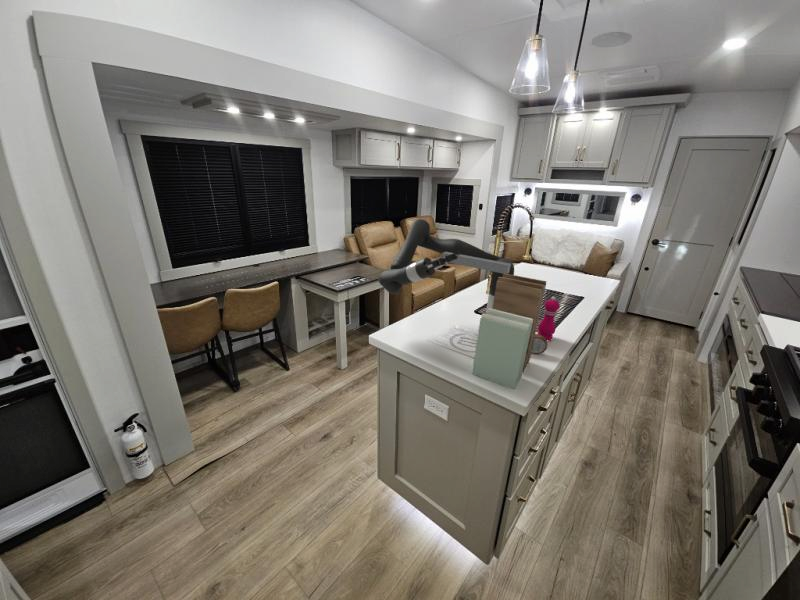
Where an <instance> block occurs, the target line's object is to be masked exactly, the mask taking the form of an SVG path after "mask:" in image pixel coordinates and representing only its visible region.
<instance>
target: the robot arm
mask: <svg viewBox="0 0 800 600" xmlns="http://www.w3.org/2000/svg"><path fill="white" fill-rule="evenodd" d="M430 232H431V226H430V223H429V222H428V221H427V220H425V219H424V218H423V219H422V218H418V219H416V220H414V221H413V222H412V223H411V225H410V228H409V231H408V233H407V236H406V238H405V241H404V242H403V244H402V246H401V248H400V250H399V251H398V253H397V255H396V256H395V258H394V259H393V261H392V263H391V265H390V269H386V270H384V271H383V272H381V273H380V274H379V276H378V283H379V284H380V286H382V287H383V288H384V289H385V291H386V292H388V293H389V294H391V295H396V294H397V293H399V292H400V291H401V289H402V287H403V286H406V285H410V284H413V283H416V282H420V281H423V280H425V279H428V278H430V277H433V276H434V275H435V273H436V270H438V269H441V268H442V267H443V266H448V264H449V262H450V261H452V260H455V259H457V256H456V254H461V255H466V256H472V257H477V258H482V259H488V260H493V261H499V262H504V263H510V264H511V266H510V271H509V273H508V274H510V275H515V264H514V263H513V262H512V261H511V260H510V259H508V258H505V257H502V256H499V255H496V254H492V253H489V252H487V251H484V250H483V249H480V248H479V247H477V246H475V245H473V244H470V243H468V242H467V241H463V240H461V239H459V238H445V239H444V238H439V237H435V236H432V235H430ZM418 247H421V248H423V249H424V248H425V249H427V250H430V251H434V252H435V253H438V254H440V255H442V253H444V252H450V253H453V254H451V255H448V256H445V257H443V258H442V256H439V257H435V258H433V259H431V258H430V257H428V256H427V257H423V258H421V259H419V260H417V261H415V262H412V261H413V258H414V255H415V253H416V251H417V249H418ZM447 261H448V262H447ZM489 272H490V273H491V275H490V284H489V289H488V291H489V292H488V298H487V304H486V309H485V310H486V311H485V314H486V313H487V311H488V308H491V309H492V308H493V302H494V296H495V290H496V284H497V281H498V277H503V273H498V272H493V271H489Z"/></svg>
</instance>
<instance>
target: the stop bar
mask: <svg viewBox="0 0 800 600" xmlns="http://www.w3.org/2000/svg"><path fill="white" fill-rule="evenodd" d="M451 254H453V253H450V252H444V253H442V254H441V257H442V258H443V257H445V256H448V255H451ZM456 256H457V259H455V260H452V261H450V262H448V261H447V262H448V264H455V265H460V266H464V267H469V268H473V269H479V270H483V271H489V272H490V271H493V272H498V273H503V274H508V273H509V271H510V266H511V264H510V263H504V262H499V261H493V260H488V259H482V258H477V257H472V256H466V255H461V254H456Z"/></svg>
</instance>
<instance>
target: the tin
mask: <svg viewBox="0 0 800 600" xmlns="http://www.w3.org/2000/svg"><path fill="white" fill-rule="evenodd" d="M547 348H548V341H547V340H546V339H545V337H543V336H542V335H539V334H538V333H535V337H534V342H533V346H532V351H531V354H532V355H542V354H543V353H545V351H547Z"/></svg>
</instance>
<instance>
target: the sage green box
mask: <svg viewBox="0 0 800 600" xmlns="http://www.w3.org/2000/svg"><path fill="white" fill-rule="evenodd" d="M532 323H533V319H531V318H527V317H523V316H519V315H515V314H511V313H507V312H503V311H499V310H495V309H491V308H488V311H487V313H486V312H485V313H482V314H481V317H480V320H479V326H478V334H477V337H476V338H477V339H476V345H475V354H474V359H473V367H472V371H471V374H472V375H473V376H476V377H480V378H482V379H483V380H488V381H491V382H493V383H495V384H498V385H501V386H503V387H506V388H509V389H512V390H515V389H516V388H517V386H518V383H519V382H520V380H521V378H522V375H523V372H522V370H523V366H524V361H525V356H526V352H527V347H528V342H529V338H530V333H531V328H532Z"/></svg>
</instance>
